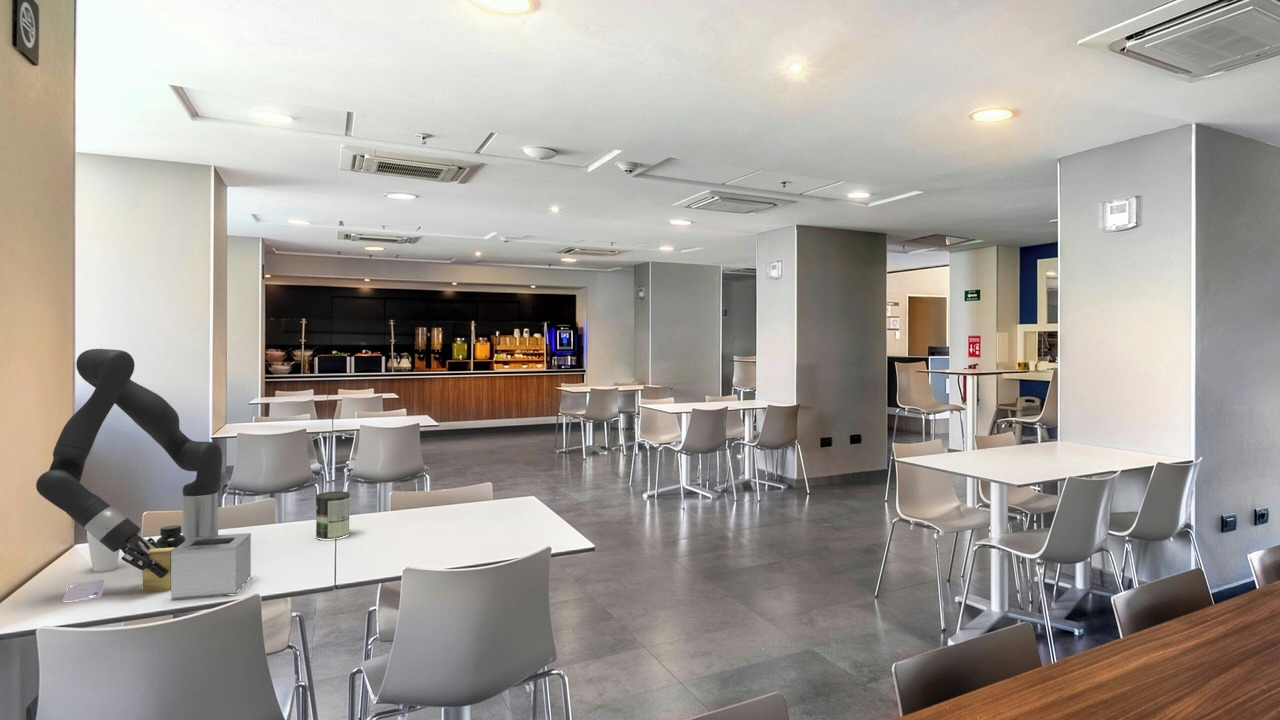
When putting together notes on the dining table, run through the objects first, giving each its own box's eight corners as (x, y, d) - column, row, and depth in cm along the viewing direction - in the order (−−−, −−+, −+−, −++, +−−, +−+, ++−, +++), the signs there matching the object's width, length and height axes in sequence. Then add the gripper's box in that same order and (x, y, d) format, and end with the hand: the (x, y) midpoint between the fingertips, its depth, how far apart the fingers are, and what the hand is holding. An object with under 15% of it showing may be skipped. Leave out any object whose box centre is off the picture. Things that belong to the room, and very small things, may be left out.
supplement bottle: (191, 566, 192) (191, 524, 192) (172, 574, 186) (172, 530, 186) (169, 565, 193) (169, 523, 193) (149, 573, 186) (149, 529, 186)
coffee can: (310, 541, 219) (311, 497, 219) (322, 533, 230) (322, 491, 229) (344, 540, 220) (344, 497, 220) (353, 532, 231) (354, 490, 231)
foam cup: (107, 563, 195) (107, 525, 195) (129, 565, 193) (130, 526, 193) (79, 572, 187) (79, 532, 187) (102, 574, 185) (102, 534, 185)
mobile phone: (105, 578, 180) (101, 595, 168) (105, 582, 180) (101, 598, 168) (67, 584, 175) (61, 601, 163) (67, 587, 175) (61, 605, 163)
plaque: (148, 587, 175) (148, 549, 175) (175, 585, 176) (175, 547, 176) (142, 592, 171) (142, 553, 171) (169, 590, 173) (169, 551, 173)
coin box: (191, 581, 179) (191, 536, 179) (250, 577, 183) (250, 533, 183) (171, 600, 166) (171, 551, 166) (235, 594, 170) (235, 547, 170)
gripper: (112, 524, 165) (169, 570, 168) (137, 511, 178) (190, 554, 182) (86, 547, 163) (144, 593, 167) (113, 533, 177) (167, 575, 180)
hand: (168, 572), depth 174 cm, fingers closed on plaque, 3 cm apart
